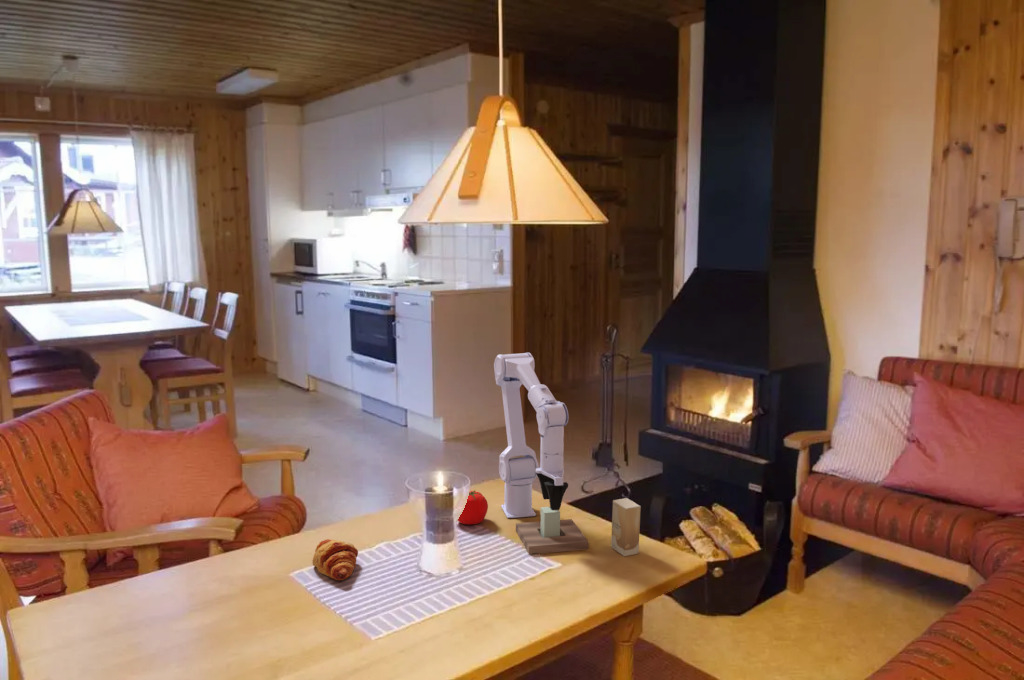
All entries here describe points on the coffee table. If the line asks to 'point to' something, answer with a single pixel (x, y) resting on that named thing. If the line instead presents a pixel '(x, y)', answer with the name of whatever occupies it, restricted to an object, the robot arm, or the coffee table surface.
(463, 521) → the tomato
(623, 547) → the skincare box
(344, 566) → the croissant
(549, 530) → the sage peg
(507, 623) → the coffee table surface
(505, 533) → the coffee table surface
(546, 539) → the walnut socket frame
